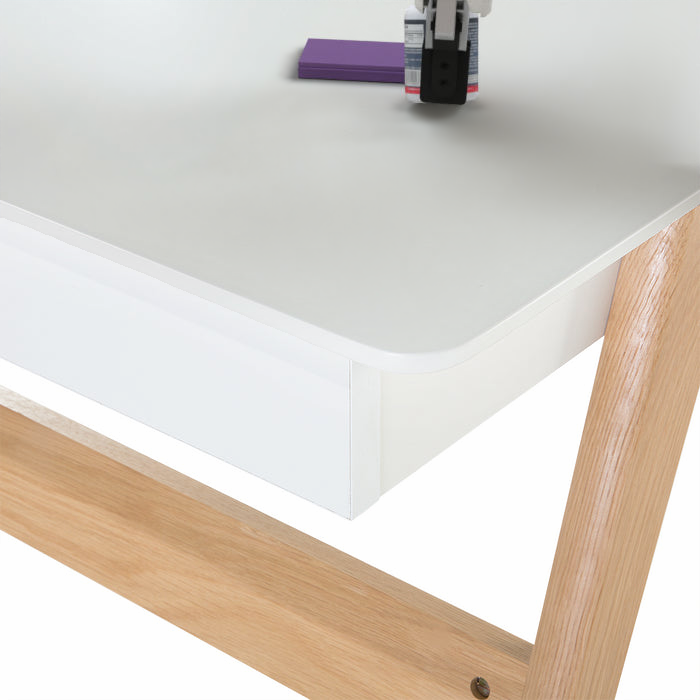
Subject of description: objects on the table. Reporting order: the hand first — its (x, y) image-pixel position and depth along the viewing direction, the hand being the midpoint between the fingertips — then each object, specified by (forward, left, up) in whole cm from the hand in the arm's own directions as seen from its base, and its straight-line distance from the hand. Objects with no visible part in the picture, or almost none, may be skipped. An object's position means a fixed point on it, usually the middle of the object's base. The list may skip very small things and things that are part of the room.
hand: (443, 98), depth 85 cm
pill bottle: (0, -3, -2) cm, 4 cm away
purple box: (+5, -11, -2) cm, 13 cm away
